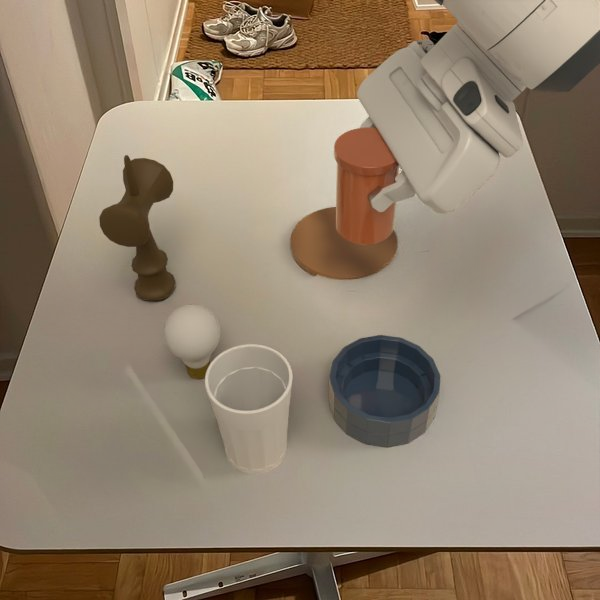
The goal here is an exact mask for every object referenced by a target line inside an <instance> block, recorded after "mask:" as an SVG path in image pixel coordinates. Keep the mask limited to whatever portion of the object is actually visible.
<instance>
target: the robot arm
mask: <svg viewBox="0 0 600 600" xmlns="http://www.w3.org/2000/svg"><path fill="white" fill-rule="evenodd" d="M434 1H435V2H436V3H437V4H438V5H439V6H443V7H444V8H445V9H446V10H447V11H448V12H449V14H451V15H452V17H453V18H454V19H455V20H456V21H457V22H456V23H455V24H454V25H453V26H452V27H451V28H450V29H449V30H448V31H447V32H446V33H445V34H444V35H443V36H442V37H441V38H440V39H439V40H438V42H436V43H434V42H433V41H432V40H431V39H429V38H425V39H419V40H413V41H412V42H410V44H408V45H407V46H406V47H402V48H400V49H398V50H397V51H395V52H394V53H393V54H391V55H390V56H389V57H388V58H386V59H385V60H384V61H383V62H382V63H381V64H379V65H378V66H377V67H376V68H375V69H374V70H373V71H372V72H371V73H369V75H367V77H366V78H364V79H363V81H362V82H361V83H360V84H359V87H358V89H357V92H356V97H357V99H358V101H359V102H360V104H361V105H362V107H363V109H364V110H365V112H366V114H367V115H368V117H367V118H366V119H365V120H364V121H363V122H362V123H361V125H360V127H359V128H377V130H378V132H379V133H380V135H381V137H382V138H383V140H384V141H385V143H386V145H387V146H388V148H389V150H390V151H391V153H392V155H393V156H394V158H395V159H396V161H397V163H398V164H399V169H401V170H400V171H399V174H398V175H397V176H396V177H395V180H396V183H394V184H392V185H389V186H387V187H385V188H382V187H381V186H379V185H378V186H377V187H376V188H375V189H374V190H373V192H370V193H369V194H368V200H369V202H370V204H371V205H372V207H373V208H374V209H376V210H377V211H378V212H384V211H385V210H386V209H387V208H388V207H389V206H390V205H391V204H392V203H394V202H396V203H397V202H400V201H403V200H406V199H410V198H413V197H414V196H415V195H416V196H417V198H418V199H419V200H420V201H421V202H422V203H423V204H425V206H427V207H428V208H430V209H431V210H432V211H434V212H435V213H437V214H439V215H443V214H448V213H452V212H455V211H456V210H458V209H459V208H461V206H462V205H463V204H464V203H466V202H467V201H468V200H469V199H470V198H471V197H473V196H474V195H475V193H477V192H478V191H479V190H480V189H481V188H482V187H483V186H484V185H485V184H486V183H487V182H488V181H489V180H490V179H491V177H492V176H493V175H494V173H495V172H496V171H497V169H498V167H499V165H500V160H501V157H500V155H501V156H503V157H504V158H508V159H509V158H511V157H513V156H514V155H515V154H517V153H518V152H519V151H520V150H521V149H522V147H523V146H524V139H523V134H522V130H521V127H520V122H519V119H518V115H517V110H516V105H515V103H514V102H513V101H515V99H516V98H518V97H519V96H520V95H521V94H522V93H523V92H524V91H525V90H526V88H527V89H530V91H531V92H535V93H544V94H545V93H568V92H570V91H571V90H573V89H574V88H575V87H576V86H577V85H579V83H581V82H582V81H583V79H585V78H586V77H587V75H589V74H590V73H591V72H592V71H593V70H594V69H595V68H596V67H597V66H599V65H600V0H434Z"/></svg>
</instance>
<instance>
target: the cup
mask: <svg viewBox="0 0 600 600" xmlns="http://www.w3.org/2000/svg"><path fill="white" fill-rule="evenodd" d="M293 377H294V376H293V370H292V367H291V364H290V362H289V361H288V360H287V358H286V357H285V356H284V355H283V354H282V353H281V352H279V351H278V350H276V349H274V348H272V347H270V346H267V345H263V344H257V343H246V344H240V345H235V346H233V347H230V348H228V349H226V350H224V351H222V352H221V353H219V354H218V355H217V356H216V357H215V358H214V359H213V360H212V361H210V365H209V367H208V369H207V372H206V375H205V377H204V387H205V391H206V394H207V397H208V399H209V404H210V405H211V408H212V412H213V414H214V416H215V419H216V422H217V425H218V429H219V432H220V435H221V439H222V442H223V447H224V451H225V456H226V459H227V460H228V462H229V464H230V465H231V466H233V468H235V469H236V470H238V471H240V472H242V473H245V474H249V475H260V474H264V473H268V472H270V471H272V470H274V469H275V468H277V467H278V466H279V465H280V464H281V463H282V462H283V460H284V459H285V457H286V455H287V451H288V430H289V416H290V415H289V414H290V404H291V399H292V398H291V397H292V388H293Z"/></svg>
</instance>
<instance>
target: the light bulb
mask: <svg viewBox="0 0 600 600" xmlns="http://www.w3.org/2000/svg"><path fill="white" fill-rule="evenodd" d="M163 337H164V342H165V344H166V346H167V348H168V350H169V351H170V352H171V353H172V354H173V355H174V356H176V357H177V358H179V359H181V361H182V362H183V364H184V365H185V368H186V372H187V374H188V376H189V377H191V378H192V379H196V380H199V379H205V375H206V372H207V369H208V367H209V365H210V364H211V358H212V353H214V351H215V350H216V349H217V347H218V345H219V342H220V339H221V326H220V322H219V319H218V318H217V316H216V315H215V314H214V313H213V312H212V311H211V310H210V309H208V308H207V307H205V306H202V305H199V304H192V303H191V304H185V305H182V306H179V307H178V308H176V309H175V310H174V311H172V312H171V313H170V314H169V316H168V317H167V319H166V321H165V323H164V328H163Z"/></svg>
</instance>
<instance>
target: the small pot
mask: <svg viewBox="0 0 600 600" xmlns="http://www.w3.org/2000/svg"><path fill="white" fill-rule="evenodd" d="M333 157H334V160H335V162H336V184H335V185H336V189H335V207H336V229H337V231H338V233H339V234H340V235H341V236H342V237H343V238H344V239H346V240H348V241H350V242H353V243H357V244H374V243H378V242H381V241H383V240H385V239H386V238H388V237H389V236H390V234H391V233H392V231H393V229H395V228H394V226H395V216H396V205H397V202H394V203H392V204H391V205H390V206H389V207H388V208H387V209H386V210H385V211H384V212H378V211H377V210H376V209H374V208H373V207H372V205H371V204H370V202H369V200H368V194H369V193H370V192H373V190H374V189H375V188H376V187H377V186H378V185H379V186H381V187H382V188H385V187H387V186H389V185H392V184H394V183H396V180H395V177H396V176H397V175H398V174H399V173H400V166H399V164H398V163H397V161H396V159H395V158H394V156H393V155H392V153H391V151H390V150H389V148H388V146H387V145H386V143H385V141H384V140H383V138H382V137H381V135H380V133H379V132H378V130H377V128H360V127H358V128H354V129H350V130H347V131H345V132H344V133H342V134H341V135H339V136H338V138H337V139H336V140H335V142H334V146H333Z"/></svg>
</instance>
